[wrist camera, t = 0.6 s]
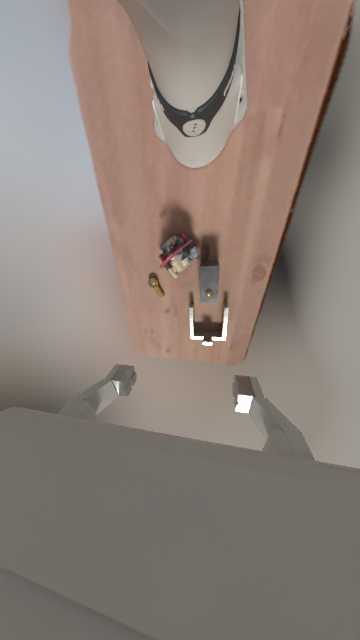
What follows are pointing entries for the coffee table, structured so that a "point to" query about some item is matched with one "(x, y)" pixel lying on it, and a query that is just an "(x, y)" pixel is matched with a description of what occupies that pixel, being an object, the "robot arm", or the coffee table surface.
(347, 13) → the coffee table surface
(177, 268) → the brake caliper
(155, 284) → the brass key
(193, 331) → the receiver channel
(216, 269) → the block
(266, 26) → the coffee table surface
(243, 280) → the coffee table surface
